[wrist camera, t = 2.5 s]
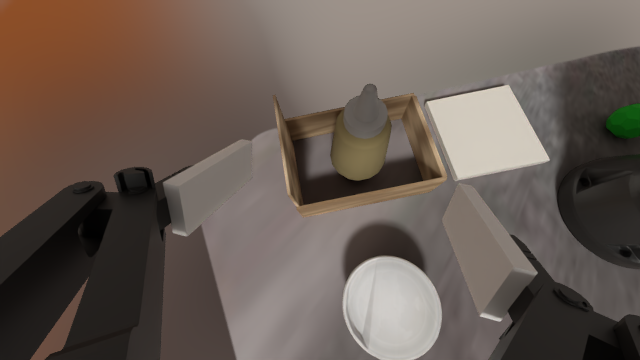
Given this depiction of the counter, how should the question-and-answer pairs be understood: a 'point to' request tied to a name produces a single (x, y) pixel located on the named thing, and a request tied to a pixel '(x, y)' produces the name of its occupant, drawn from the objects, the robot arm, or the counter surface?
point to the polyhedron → (625, 121)
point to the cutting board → (484, 133)
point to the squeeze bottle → (361, 136)
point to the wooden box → (325, 123)
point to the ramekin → (392, 308)
